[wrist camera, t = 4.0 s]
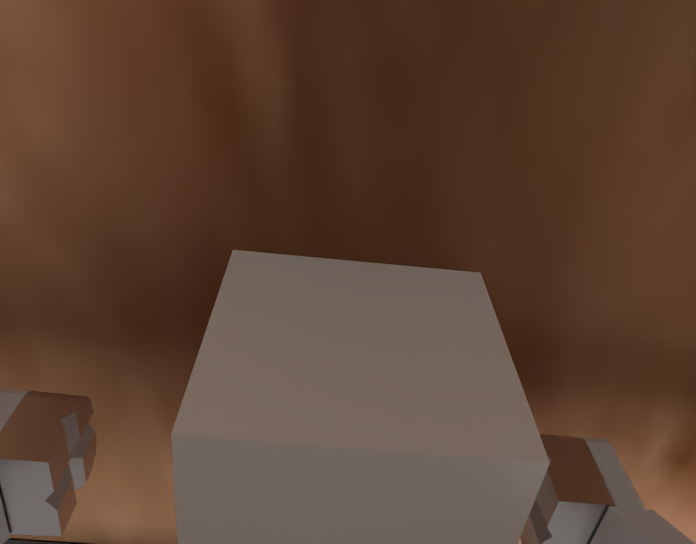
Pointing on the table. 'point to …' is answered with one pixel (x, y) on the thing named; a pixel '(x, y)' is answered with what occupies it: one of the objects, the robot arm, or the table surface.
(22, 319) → the table surface
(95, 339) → the table surface
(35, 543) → the box
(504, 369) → the cream cube
